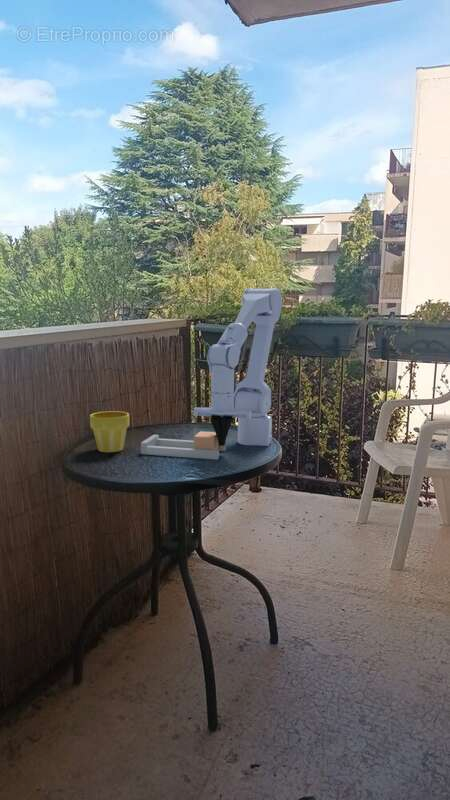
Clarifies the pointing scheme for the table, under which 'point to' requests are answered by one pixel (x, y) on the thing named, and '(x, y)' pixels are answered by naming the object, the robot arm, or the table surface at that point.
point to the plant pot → (109, 429)
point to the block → (206, 441)
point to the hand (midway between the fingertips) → (221, 444)
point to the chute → (177, 448)
